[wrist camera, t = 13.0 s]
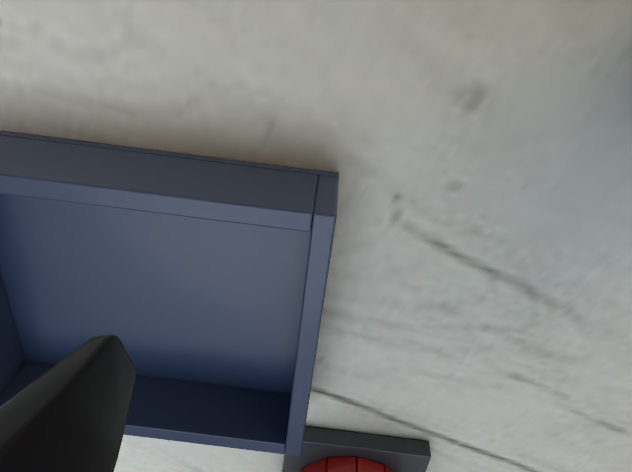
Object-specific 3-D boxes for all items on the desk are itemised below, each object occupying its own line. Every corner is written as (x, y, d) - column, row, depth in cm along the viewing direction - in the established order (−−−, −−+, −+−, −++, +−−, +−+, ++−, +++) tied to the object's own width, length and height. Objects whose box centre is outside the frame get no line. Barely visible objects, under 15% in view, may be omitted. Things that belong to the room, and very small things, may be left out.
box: (339, 172, 20) (336, 216, 17) (306, 399, 27) (300, 456, 25) (-55, 123, 20) (-123, 158, 17) (18, 364, 27) (-21, 417, 24)
